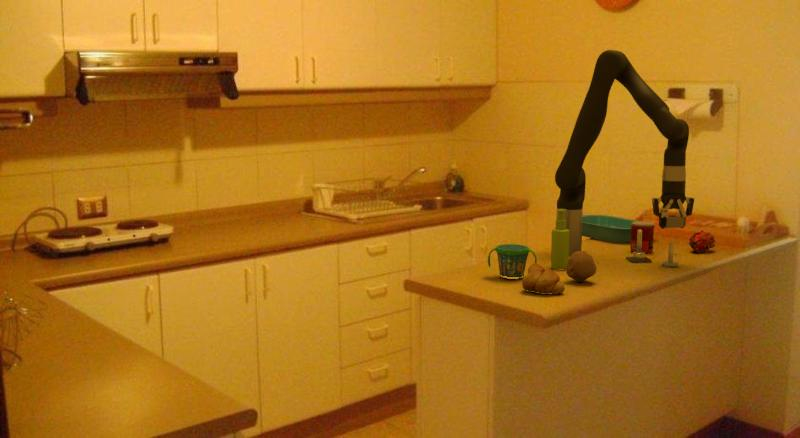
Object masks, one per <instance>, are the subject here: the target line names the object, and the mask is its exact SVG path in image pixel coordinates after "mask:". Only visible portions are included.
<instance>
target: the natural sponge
mask: <svg viewBox="0 0 800 438" xmlns="http://www.w3.org/2000/svg"><path fill="white" fill-rule="evenodd" d="M565 272H566V275H567V277H569V278H571V280H572V279H573V280H574V281H575V282H577V283H584V282H585V281H586V280H588V279H590V278H592V277H593V276H594V275H596V272H597V265H596V263H595V260H594V258H593V256H592V255H591V254H590V253H589V252H587V251H585V250H582V251H577V252H575V253H573V254H572V255H571V256H570V257H569V260H568V264H567V268H566V269H565Z"/></svg>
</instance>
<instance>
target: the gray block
mask: <svg viewBox="0 0 800 438" xmlns="http://www.w3.org/2000/svg"><path fill="white" fill-rule="evenodd" d="M664 218H665V228H667V229H672V228H673V229H674V228H676V229H677V228H680V229H684V228H685V227H684V218H685V217H683V216H681V215H680V214H666V215H665V217H664Z"/></svg>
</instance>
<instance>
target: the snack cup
mask: <svg viewBox="0 0 800 438" xmlns="http://www.w3.org/2000/svg"><path fill="white" fill-rule="evenodd" d="M493 251H495V252H496V254H497V261H498V271H499V276H500V275H502V276H507V277H522V276H523V277H525V276H524V275H525V271H526V264H527V260H528V257H529V253H532V255H533V257H534V260H535V261H534V264H536V263H537V261H538V259H537V255H536V253H535V251H534V250H532V249H531V248H529V246H528V245H524V244H516V243H504V244H498V245H496V247H494V248H492V249H491V250H490V251H489V253H488V255H487V265H488V267H489V268H491V253H493ZM537 264H538V263H537Z"/></svg>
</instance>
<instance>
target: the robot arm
mask: <svg viewBox="0 0 800 438" xmlns="http://www.w3.org/2000/svg"><path fill="white" fill-rule="evenodd" d="M636 70H637V69H635V67H634V66H633V65H632V63H631V61H630V60H629V58H628V57H627V56H626V54H625V53H624V52H622V51H619V50H615V49H606V50H604V51H603V52H601V54H599V55H598V57H597V58H596V61H595V66H594V69H593V73H592V77H591V81H590V84H589V88H588V90H587V92H586V95H585V97H584V99H583V102H582V106H581V108H580V109H579V111H578V116H577V118H576V121H575V124H574V126H573V129H572V132H571V135H570V139H569V141H568V144H567V149H566V151H565V153H564V155H563V157H562V160H560V161H561V162H560V163H559V166H558V167H557V169H556V172H555V175H554V181H555V184H556V186H557V188H559V189H560V190H559V191H560V192H559V196H558V199H557V201H556V219H558V214H559V212H557V210H559V209H567V211H564V219H566V229H568V230H570V233H569V258H570V256H571V255H572V254H573V253H575V252H577V251H583V248H582V245H583V243H582V242H583V236H582V215H584V214H583V211H584V201H585V196H586V184H587V183H586V176H587V175H586V172H585V170H584V168H583V166H584V162H585V160H586V159H587V158H586V157H587V155H588V153H589V152H590V150H591V148H592V147H593V146H594V144H595V143H596V142H597V140H598V138H599V136H600V134H601V132H602V129H603V126H604V123H605V121H606V117H607V115H608V114H607V113H608V104H609V96H610V92H611V89H612V86H613V84H614V83H615V80H616V81H617V82H618V83H619V84H621V85H622V86H623V87H624V88H625V89H626V90H627V91H628V93H629V94H630V95H631V97H632V98H633V100H634V101H635V104H636V105H637V106H638V107H639V109H640V110H641V111H642V112H643V113H644V114H645V115H646V116H647V117H648V118H649V119H650V120H651V121H652V122H653V124H654V125H655V127H656V129H658V132H659V133H660V134H661V135H662V137H664V138H665V139H666V140H667V146H666V148H665V150H664V152H663V168H662V175H661V179H662V180H661V195H660V197H652V198H651V200H652V201H651V203H652V210H653V211H652V212H653V215H654V216H656V217H658V226H659V227H660V229H663V230H664V229H665V228H666V227H665V218H664V217H665V215H667V213H668V212H669V210H677V211H678V213H679V215H680V216H683V217H685V218H684V228H685V227H686V218H687V217H689V216H692V215H693V209H694V203H695V198H694V197H691V196H690V197H687V196H686V177H687V170H686V161H687V160H686V159H687V158H686V157H687V155H686V153H687V147H688V144H689V137H690V127H689V124H688V122H687V121H686V120H684V119H681V118H676V117H675V116H674V115H673V114H672V112H671V111H670V106H668V105H667V103H666V102H665V101H664V100H663V99H662V98H661V97H660V96H659V95H658V94H657V93H656V91H654V90H653V89H652V87H651V86H650V85H648V84H647V82H646V81H645V80H644V79H643V77H641V75H640V74H639V73H638V72H637V71H636ZM661 203H662V206H661V208H660V207H659V206H660V204H661ZM684 203H686V209H685V208H684ZM554 229H556V227H555V228H554Z"/></svg>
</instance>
